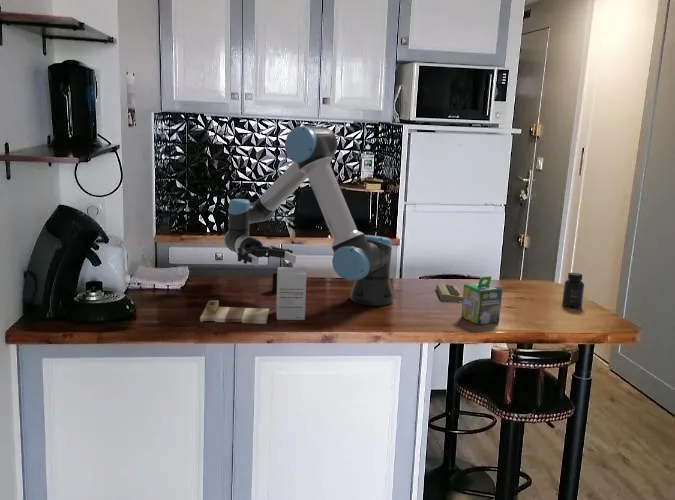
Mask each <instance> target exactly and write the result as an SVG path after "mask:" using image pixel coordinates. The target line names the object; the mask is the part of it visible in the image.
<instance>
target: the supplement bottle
mask: <svg viewBox="0 0 675 500" xmlns="http://www.w3.org/2000/svg"><path fill="white" fill-rule="evenodd" d="M584 291H585V283H584V282H583V274H581V273H578V272H569V273H568V274H567V280H565V281H564V284H563V291H562V293H563V294H562V300H561V301H562V303H561V304H562V306H563V307H566V308H569V309H581V308H582V307H583V299H584Z"/></svg>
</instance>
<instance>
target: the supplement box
mask: <svg viewBox="0 0 675 500" xmlns="http://www.w3.org/2000/svg"><path fill="white" fill-rule="evenodd" d="M276 271H277V272H276V273H277V293H276V304H275V305H276V306H275V307H276V308H275V309H276V312H275V313H276V320H277V321H283V320H284V321H288V320H289V321H306V320H305V319H306V298H307V273H306V269H305V267H286V266H279V267H277V270H276Z"/></svg>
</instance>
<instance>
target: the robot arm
mask: <svg viewBox="0 0 675 500" xmlns="http://www.w3.org/2000/svg"><path fill="white" fill-rule="evenodd" d="M284 150H285V154H286V156H287V157H288V158H289V160H290V161H292V163H291V164H290V166H288V167H287V169H285V171H284V172H282V174H281V175H280V176H279V177H278V178H277V179H276V180H275V181H274V182H273V183H272V184H271V185H270V186H269V187H268V188H267V189H266V190H265V191H264V192H263V193H262V194H261V196H260V197H258V199H256V201H254V202H251V201H250V200H249V199H244V198H233V199H230V200H229V203H228V210H227V211H228V221H227V222H228V229H227V232H226V233H225V235H224V237H223V243H224V246H226V248H227V249H228V250H230V251H232V252H234V253H236V256H237V262H242V261H243V264H250V265H253V266H255V267H259V262H260V261H259V258H270V257H273V258H281V259H284V260H285V261H287V262H290V263H292V264H296V261H297V258H296V257H297V255H296V254H294V253H293V250H292V249H290V248H281V247H277V246H273V245H270V246H265V245H263V243H262V242H261V241H260V240H259V239H257V238H255V237H254V236H250V235H249V234H250V232H249V231H250V224H256V223H261V222H266V221H269V220H271V219H273V217H275V213H276V210H277V209H278V208H279V207H280V206H281V205H282V204H283V203H284V202H285V201H286V200H287V199H288V198H289V197H291V195H292V194H293V193H294V192H295V191H296V190H297V189H298V188H299V187H300V186H301V185H302V184H303V183H304V182H305V181H306V180H307V179H308V182H309V184H310V186H311V189H312V192H313V194H314V197H315V198H316V201H317V203H318V205H319V208H320V210H321V213H322V215H323V218H324V220H325V222H326V225H327V227H328V230H329V232H330V235H331V237H332V239H333V241H332V244H331V250H332V252H333V255H332V259H331V263H332V268H333V270H334V272H335V273H336V275H338V277H340V278H342V280H346V281H351V282H353V281H354V282H353V286H352V288H351V291H350V295H349V298H350V299H349V300H350V301H351V302H353V303H355V304H359V305H365V306H373V307H374V306H375V307H376V306H378V307H379V306H387V305H390V304H392V303H393V302H394V294H393V288H392V286H391V280H390V274H391V263H392V261H391V260H392V250H393V247H392V244H393V243H392V240H391V238H390V237H386V236H381V235H380V236H379V235H373V234H372V235H370V234H364V232H362V231H359V230H358V228H357V225H356V223H355V220H354V218H353V217H352V214H351V211H350V209H349V206H348V204H347V202H346V200H345V197H344V195H343V192H342V190H341V188H340V185H339V182H338V180H337V178H336V175H335V173H334V171H333V168H332V165H331V162H332V160H333V157H334V156H335V154H336V153H337V150H338V138H337V136H336V134H335V132H333V130H331V129H330V128H328V127H325V126H316V125H315V126H310V125H301V126H296V127H294V128H293V129H291V130H290V131H289V132H288V134H287V135H286V138H285V141H284Z"/></svg>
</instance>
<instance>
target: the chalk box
mask: <svg viewBox="0 0 675 500" xmlns="http://www.w3.org/2000/svg"><path fill="white" fill-rule="evenodd" d="M491 280H492V276H491V275H490V276H481V277H480V278H479V281H478V282H472V283H471V282H470V283H465V284H463V293H462V296H463V302H461V303H462V306H461V318H462V317H463V318H462V319H465V320H467V321H469V322H471V323H474V324H476V325H478V326H479V325H480V326H481V325H487V324H496V323H500V315H501V307H502V296H503V295H502V294H503V288H502V287H499V286H496V285H494V284H491ZM485 281H486V282H485Z"/></svg>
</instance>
